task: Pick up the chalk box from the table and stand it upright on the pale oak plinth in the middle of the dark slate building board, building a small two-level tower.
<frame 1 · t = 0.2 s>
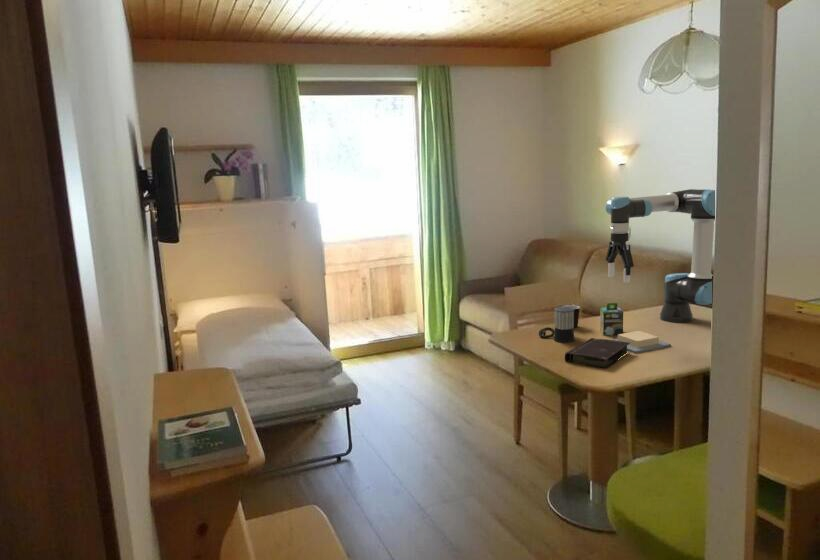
hand: (618, 279, 271), 28 cm above the table, tool pointing down, fingers open, 13 cm apart
chalk box: (611, 333, 286), on the table
diary: (598, 358, 253), on the table
milk frother: (556, 339, 281), on the table
building board: (637, 344, 267), on the table
coffee mug: (570, 326, 301), on the table
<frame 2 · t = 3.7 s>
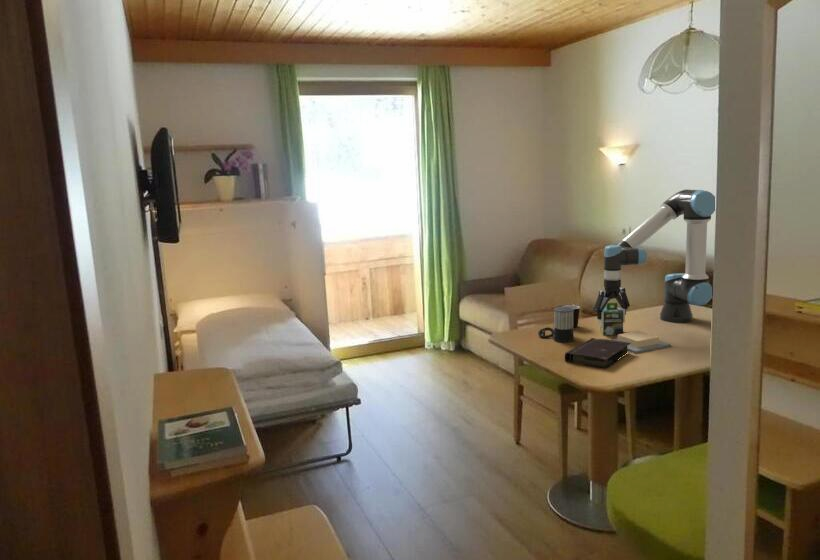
hand: (611, 323, 285), 4 cm above the table, tool pointing down, fingers closed on chalk box, 12 cm apart
chalk box: (611, 333, 286), on the table, touching gripper
everything else where it was.
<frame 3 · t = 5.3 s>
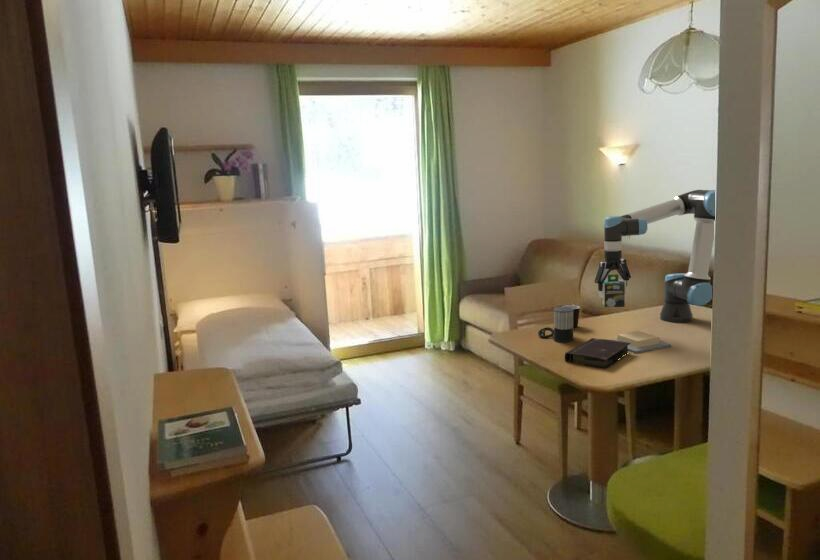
hand: (612, 295, 283), 18 cm above the table, tool pointing down, fingers closed on chalk box, 12 cm apart
chalk box: (612, 305, 284), point 13 cm above the table, touching gripper
everything else where it was.
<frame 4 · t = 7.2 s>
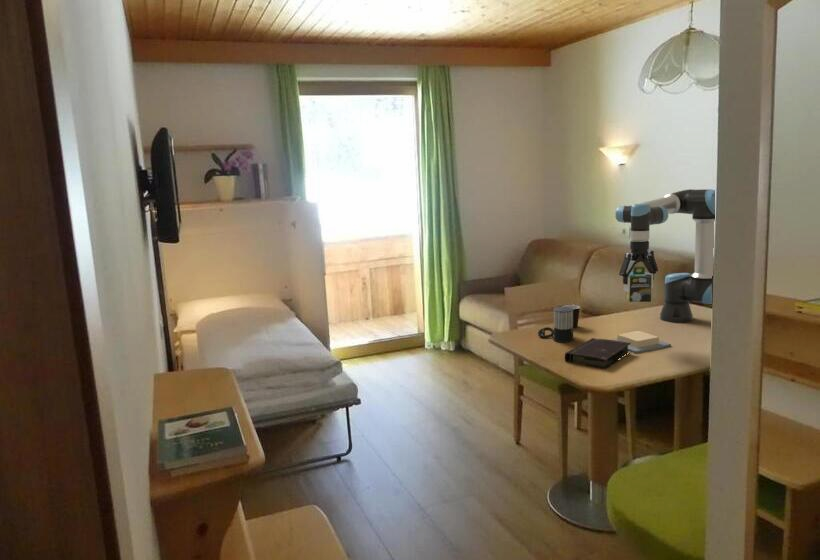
hand: (638, 289, 263), 25 cm above the table, tool pointing down, fingers closed on chalk box, 12 cm apart
chalk box: (638, 300, 264), point 20 cm above the table, touching gripper
everything else where it was.
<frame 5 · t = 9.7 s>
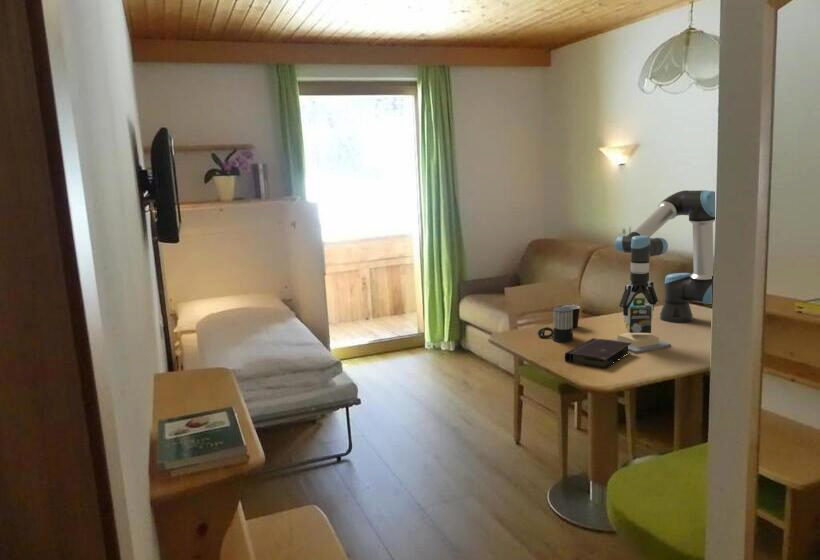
hand: (638, 320, 265), 11 cm above the table, tool pointing down, fingers closed on chalk box, 12 cm apart
chalk box: (638, 330, 266), point 6 cm above the table, touching gripper
everything else where it was.
when the fingers open (10 cm above the table, at t = 11.1 s): chalk box drops 1 cm, resting on building board.
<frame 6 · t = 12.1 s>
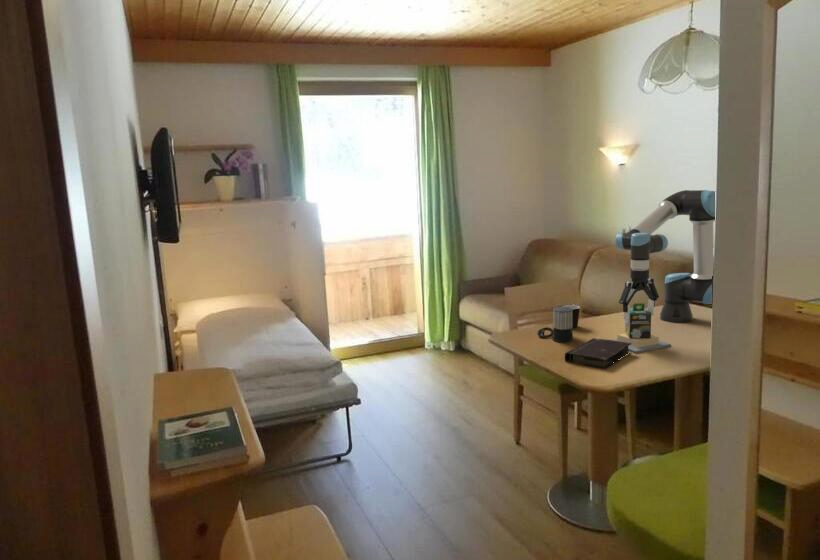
hand: (638, 316, 265), 12 cm above the table, tool pointing down, fingers open, 13 cm apart
chalk box: (637, 336, 266), point 4 cm above the table, touching building board
everything else where it was.
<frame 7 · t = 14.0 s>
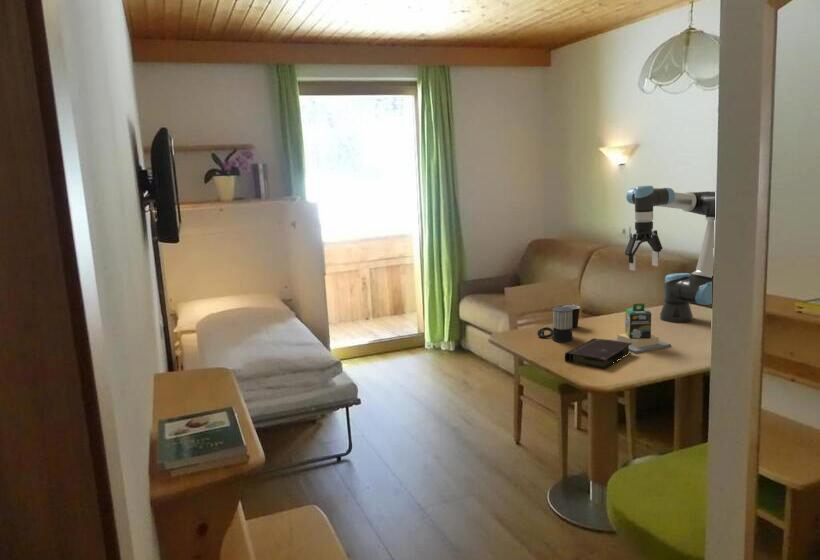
hand: (643, 267, 274), 32 cm above the table, tool pointing down, fingers open, 13 cm apart
nothing on the table moved.
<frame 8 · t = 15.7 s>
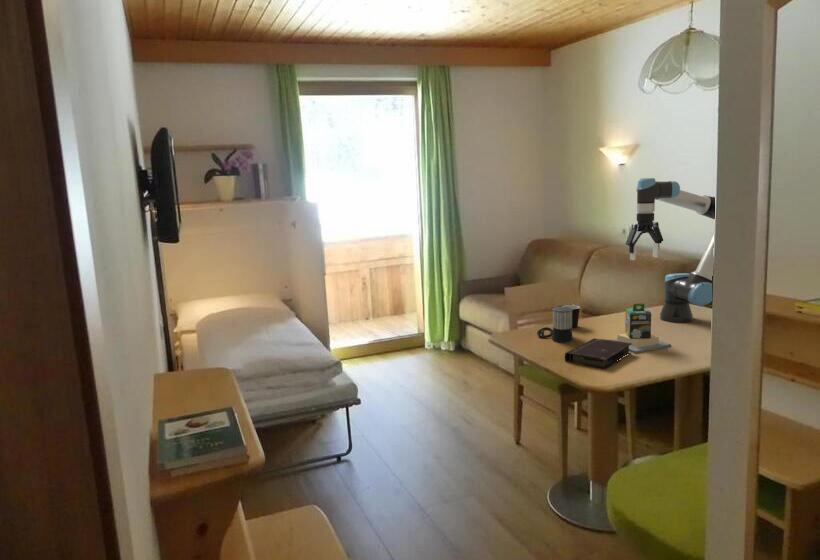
hand: (644, 258, 281), 35 cm above the table, tool pointing down, fingers open, 13 cm apart
nothing on the table moved.
at the end: chalk box 0.2 cm off-centre on the building board, point 3.8 cm above the building board's base; chalk box tilted 0°; the gripper is holding nothing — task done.
